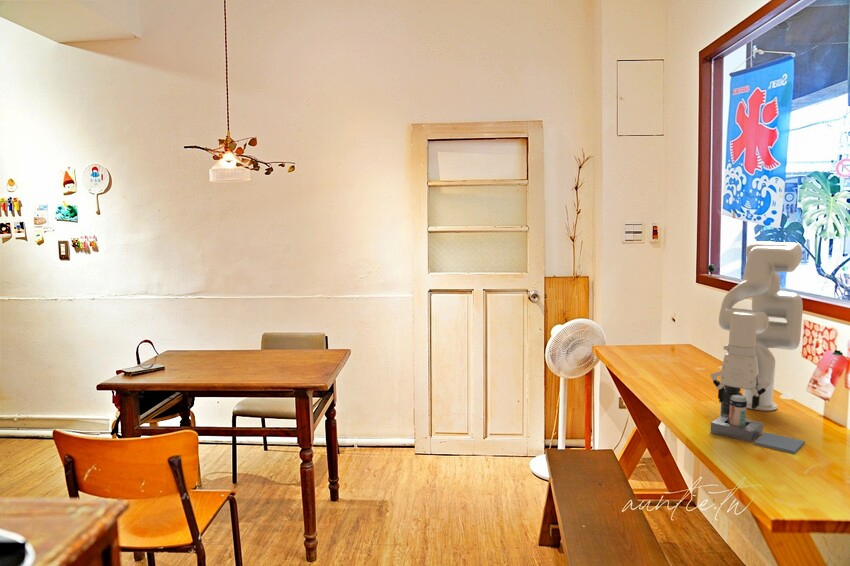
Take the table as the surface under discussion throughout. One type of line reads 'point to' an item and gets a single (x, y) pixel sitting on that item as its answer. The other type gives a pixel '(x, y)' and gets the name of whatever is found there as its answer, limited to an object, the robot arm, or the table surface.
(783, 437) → the mat
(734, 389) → the supplement bottle
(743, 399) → the beer can
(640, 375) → the table surface
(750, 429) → the gray square frame
